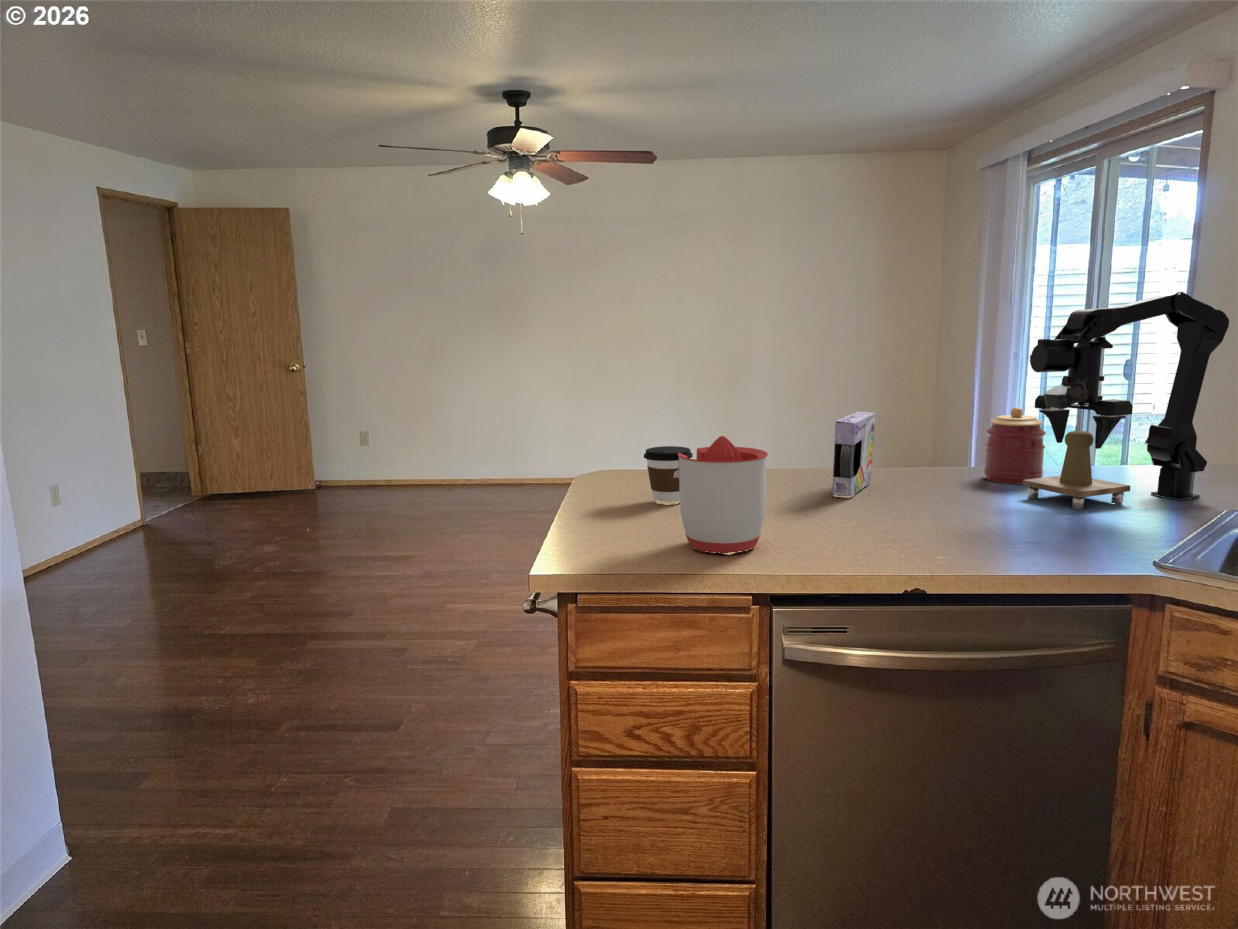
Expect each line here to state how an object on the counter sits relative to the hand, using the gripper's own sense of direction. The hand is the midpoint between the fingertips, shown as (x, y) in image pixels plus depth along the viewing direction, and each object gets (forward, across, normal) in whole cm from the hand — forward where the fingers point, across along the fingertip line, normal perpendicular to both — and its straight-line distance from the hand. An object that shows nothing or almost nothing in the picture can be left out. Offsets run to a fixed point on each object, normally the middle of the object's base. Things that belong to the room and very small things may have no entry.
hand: (1078, 445), depth 165 cm
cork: (+8, 0, 0) cm, 8 cm away
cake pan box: (+12, -29, -35) cm, 47 cm away
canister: (+12, -23, +7) cm, 27 cm away
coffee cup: (+12, -37, -78) cm, 87 cm away
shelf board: (+9, 0, 0) cm, 9 cm away
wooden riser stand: (+12, 0, 0) cm, 12 cm away
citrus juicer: (+12, -1, -84) cm, 85 cm away
